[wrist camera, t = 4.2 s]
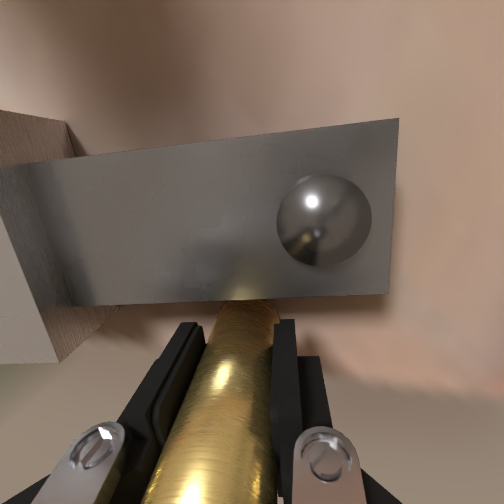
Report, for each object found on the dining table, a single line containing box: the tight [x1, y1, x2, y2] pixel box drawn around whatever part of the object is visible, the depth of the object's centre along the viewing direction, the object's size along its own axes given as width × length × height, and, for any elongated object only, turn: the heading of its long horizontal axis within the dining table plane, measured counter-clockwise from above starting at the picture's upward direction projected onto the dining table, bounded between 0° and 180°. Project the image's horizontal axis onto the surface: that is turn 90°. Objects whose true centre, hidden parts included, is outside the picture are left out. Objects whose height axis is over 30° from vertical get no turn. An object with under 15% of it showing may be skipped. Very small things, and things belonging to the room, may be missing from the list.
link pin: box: [141, 299, 280, 504], centre depth 8 cm, size 3×3×9 cm
